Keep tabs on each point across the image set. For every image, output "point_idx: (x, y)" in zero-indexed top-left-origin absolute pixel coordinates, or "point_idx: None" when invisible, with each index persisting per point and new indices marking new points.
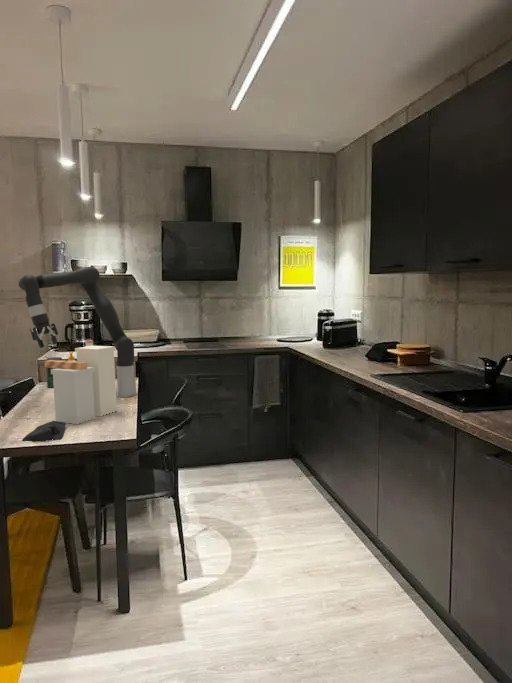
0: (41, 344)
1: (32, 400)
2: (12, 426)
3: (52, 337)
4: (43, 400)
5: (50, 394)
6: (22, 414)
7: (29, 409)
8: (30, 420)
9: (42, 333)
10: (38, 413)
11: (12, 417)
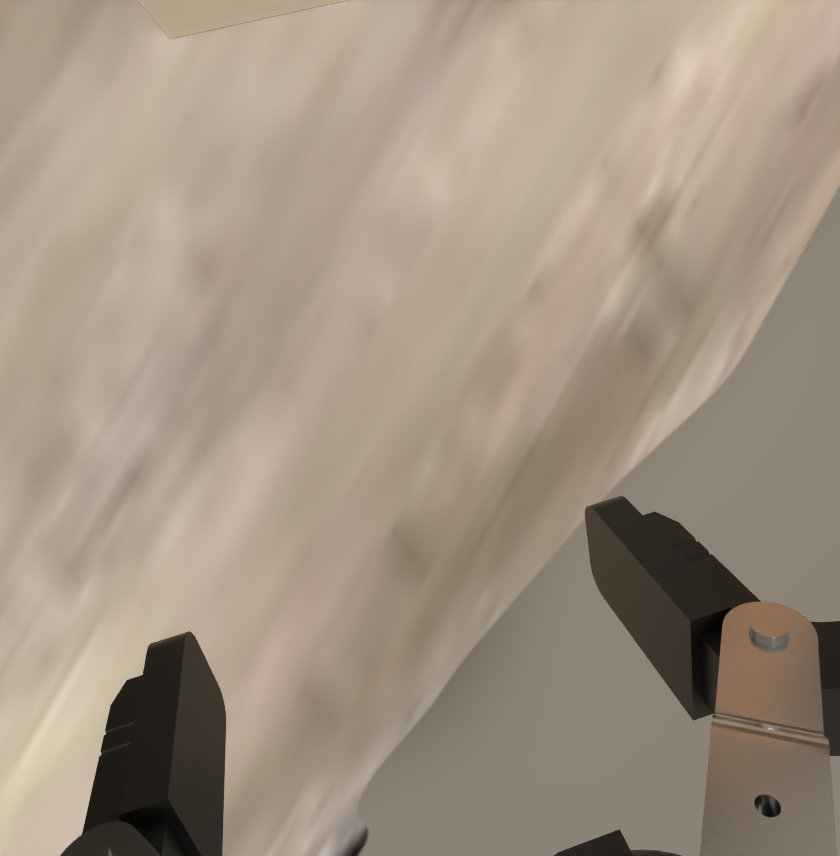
0: (670, 542)
1: (322, 757)
2: (835, 109)
3: (197, 844)
4: (271, 695)
5: None
6: (604, 392)
7: (492, 499)
8: (676, 164)
9: (766, 784)
10: (525, 322)
11: (690, 366)
